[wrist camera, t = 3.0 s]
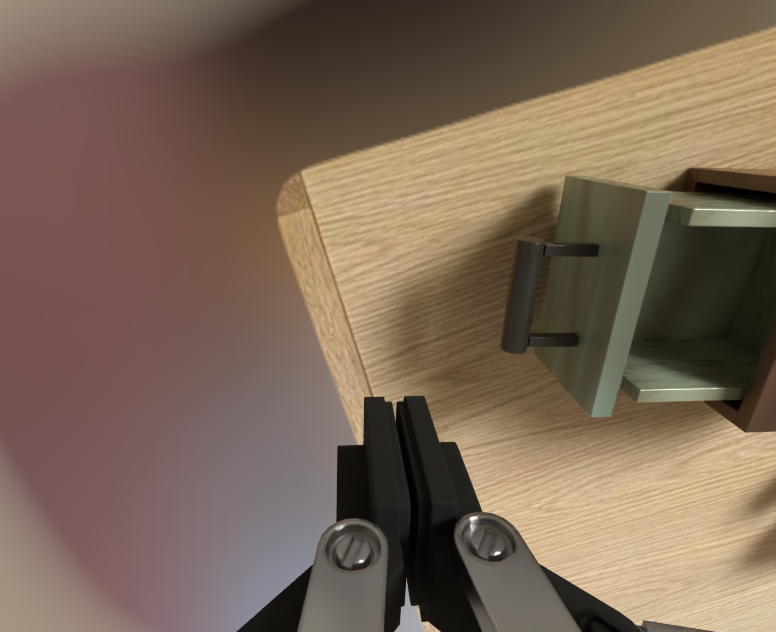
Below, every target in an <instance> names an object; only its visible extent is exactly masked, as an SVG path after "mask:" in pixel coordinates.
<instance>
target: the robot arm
mask: <svg viewBox="0 0 776 632" xmlns="http://www.w3.org/2000/svg"><path fill="white" fill-rule="evenodd" d="M336 519H337V520H336V523H335V524H333V525H332V526H330V527H329V528H328V529H327V530H326V531H325V532H324V533H323V534H322V536H321V538H320V541H319V543H318V547H317V551H316V555H315V559H314V563H313V565H312V566H311V567H309V568H308V569H307V570H306V571H305V572H304V573H303V574H301V575H300V576H299V577H298V578H297V579H296V580H295V581H294V582H292V583H291V584H290V585H289V586H288V587H287V588H286V589H284V590H283V591H282V592H281V593H280V594H279V595H278V596H276V597H275V598H274V599H273V600H272V601H271V602H270V603H269V604H267V605H266V606H265V607H264V608H263V609H262V610H261V611H260V612H258V613H257V614H256V615H255V616H254V617H253V618H252V619H250V620H249V621H248V622H247V623H246V624H245V625H244V626H242V627H241V628H240V629H239V630H238V631H237V632H394V631H395V630H396V629H397V627H398V626H399V625H400V614H401V607H402V606H404V604H405V591H406V577H407V584H408V591H409V598H410V603H411V605H412V606H417V605H419V609H420V615H421V621H422V622H425V621H429V623H431V624H432V625H433V626H434V627H436V628H437V629H438V630H439V631H441V632H713V631H707V630H701V629H694V628H688V627H682V626H676V625H669V624H663V623H657V622H651V621H644V620H643V623H642V626H638V625H635V624H634V623H633V622H632V621H631V620H630V619H628V618H627V617H626V616H624V615H623V614H622V613H620V612H619V611H617V610H615V609H614V608H612V607H610V606H609V605H607V604H605V603H604V602H602V601H600V600H599V599H597V598H595V597H594V596H592V595H590V594H589V593H587V592H585V591H584V590H582V589H580V588H579V587H577V586H575V585H574V584H572V583H570V582H569V581H567V580H565V579H564V578H562V577H560V576H559V575H557V574H555V573H554V572H552V571H550V570H549V569H547V568H545V567H544V566H542V565H540V564H539V563H538V562H537V560H536V559H535V557H534V555H533V554H532V552H531V551H530V549H529V548H528V546H527V544H526V543H525V541H524V540H523V538H522V537H521V535H520V533H519V532H518V531H517V530H516V528H515V527H514V526H513V525H512V524H511V523H509V522H508V521H507V520H505V519H504V518H502V517H500V516H497V515H495V514H492V513H486V512H482V509H481V507H480V504H479V501H478V499H477V496H476V494H475V491H474V488H473V486H472V483H471V480H470V478H469V475H468V472H467V470H466V467H465V464H464V462H463V459H462V457H461V454H460V451H459V449H458V446H457V444H456V443H455V442H439V440H438V437H437V433H436V430H435V427H434V424H433V421H432V418H431V415H430V412H429V409H428V406H427V402H426V399H425V397H424V396H405V397H404V401H399V402H397V407H396V422H395V417H394V411H393V406H392V402H385V400H384V397H364V441H363V445H346V446H338V450H337V518H336Z"/></svg>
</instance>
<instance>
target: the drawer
mask: <svg viewBox="0 0 776 632" xmlns="http://www.w3.org/2000/svg"><path fill="white" fill-rule="evenodd" d="M543 256H551V261H550V267H549V272H548V278H547V283H546V289H545V294H544V300H543V306H542V311H541V317H540V322H539V328H538V333H530V328H531V322H532V316H533V310H534V305H535V299H536V293H537V287H538V281H539V275H540V270H541V264H542V258H543ZM775 318H776V194H752V193H713V192H673V191H666V190H660V189H654V188H649V187H643V186H638V185H632V184H627V183H621V182H615V181H610V180H604V179H599V178H593V177H588V176H568V175H567V176H566V177H565V183H564V188H563V194H562V199H561V205H560V211H559V216H558V222H557V227H556V233H555V239H554V242H545V240H543V239H541V238H537V237H528V236H522V237H517V238H516V240H515V247H514V254H513V261H512V268H511V275H510V282H509V289H508V296H507V302H506V309H505V316H504V323H503V330H502V337H501V344H500V347H501V349H502V350H504V351H506V352H508V353H513V354H522V353H525V352H526V350H527V346H528V347H535V350H534V354H535V355H536V356H537V357H538V358H539V360H540V361H541V362H542V363H543V364H544V365H545V366H546V368H547V369H548V370H549V371H550V372H551V373H552V374H553V376H554V377H555V378H556V379H557V380H558V381H559V382H560V384H561V385H562V386H563V387H564V388H565V389H566V390H567V392H568V393H569V394H570V395H571V396H572V397H573V398H574V400H575V401H576V402H577V403H578V404H579V405H580V406H581V408H582V409H583V410H584V411H585V412H586V413H587V414H588V415H589V417H591V418H594V417H611V416H612V413H613V409H614V406H615V402H616V398H617V395H618V391H619V387H620V388H621V389H622V390H623V391H624V392H625V393H627V394H628V395H629V396H630V397H631V398H632V399H633V400H634V401H635V402H637V403H641V402H677V401H712V400H743V398H744V396H745V393H746V391H747V388H748V386H749V383H750V381H751V378H752V376H753V373H754V371H755V368H756V366H757V363H758V361H759V358H760V356H761V353H762V351H763V348H764V346H765V343H766V341H767V338H768V335H769V333H770V330H771V328H772V325H773V323H774V320H775Z"/></svg>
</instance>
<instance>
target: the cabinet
mask: <svg viewBox="0 0 776 632" xmlns="http://www.w3.org/2000/svg"><path fill="white" fill-rule="evenodd" d="M683 192H713V193H752V194H776V170H755V169H724V168H690V170H689V173H688V177H687V180H686V184H685V188H684V191H683ZM703 402H704V403H706V404H707V405H709V406H710V407H711V408H713V409H714V410H715V411H717V412H718V413H719V414H721V415H722V416H723V417H725V418H726V419H727V420H729V421H730V422H731V423H734V425H736V426H737V427H738V428H740V429H741V430H742V431H744V432H746V433H747V432H774V431H776V318H775V320H774V323H773V325H772V328H771V330H770V333H769V335H768V338H767V341H766V343H765V346H764V348H763V351H762V353H761V356H760V358H759V361H758V363H757V366H756V368H755V371H754V373H753V376H752V378H751V381H750V383H749V386H748V388H747V391H746V393H745V396H744V398H743V400H712V401H703Z"/></svg>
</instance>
